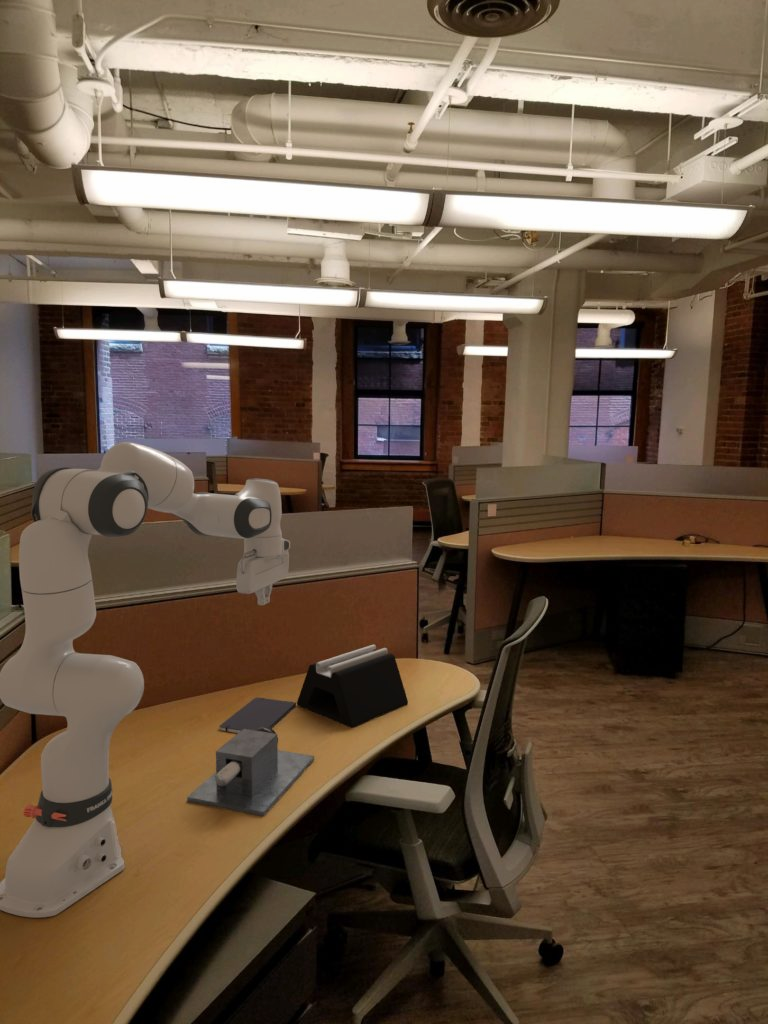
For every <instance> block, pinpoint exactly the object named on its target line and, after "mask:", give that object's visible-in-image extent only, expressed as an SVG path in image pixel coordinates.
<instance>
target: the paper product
mask: <svg viewBox="0 0 768 1024" xmlns="http://www.w3.org/2000/svg"><path fill="white" fill-rule="evenodd" d="M296 707H297V701H296V702H294V701H286V700H279V699H272V698H264V697H254V698H253V699H251V700H250V701H249V702H248V703H246V705H244V706H243V707H241V708H240V709H239V710H237V712H235V713H234V714H232V716H230V717H229V718H227V719H226V720H225V721H224V722H222V723H221V724H219V730H220V731H222V730H224V731H223V732H226V731H227V732H228V733H229V732H231V733H234V734H235V733H237V734H238V733H239V732H240V731H241V730H243V729H249V730H255V731H256V730H257V729H259V728H260V727H263V726H266V727H270V728H271V729H274V726H275V727H276V725H277V724H278V723H280V722H281V721H282V720H283V719H284V718H285V717H286V716H287V715H288V714H289V713H290V712H291V711H292V710H293V709H294V708H296Z"/></svg>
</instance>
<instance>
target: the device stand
mask: <svg viewBox="0 0 768 1024" xmlns="http://www.w3.org/2000/svg"><path fill="white" fill-rule="evenodd" d="M376 649H377V646H376V644H374V643H373V644H371V645H367V646H364V647H361V648H358V649H356V650H355V649H354V650H352V651H350V652H349V651H348V652H345V653H342V654H339V655H337V656H333V657H330V658H328V659H324V660H321V661H318V662H316V663H312V664H309V666H308V669H307V672H306V675H305V678H304V681H303V684H302V686H301V690H300V692H299V695H298V697H297V701H296V706H298V707H301V708H303V709H306V710H308V711H310V712H313V713H315V714H317V715H320V716H322V717H325V718H327V719H329V720H332V721H334V722H336V723H338V724H341V725H343V726H346V727H349V728H351V729H353V728H355V727H357V726H360V725H362V724H364V723H366V722H369V721H371V720H374V719H376V718H378V717H381V716H383V715H385V714H387V713H389V712H390V713H391V712H392V711H394V710H396V709H399V708H401V707H403V706H407V705H408V703H409V699H408V697H407V694H406V690H405V687H404V684H403V680H402V676H401V674H400V671H399V667H398V663H397V659H396V656H395V655H394V654H393V653H391V652H390V653H388V648H387V647H383V648H379V649H377V650H376Z"/></svg>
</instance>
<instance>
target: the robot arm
mask: <svg viewBox="0 0 768 1024" xmlns="http://www.w3.org/2000/svg"><path fill="white" fill-rule="evenodd" d="M194 491H195V477H194V473H193V471H192V470H191V469H190V468H189V467H188V466H187V465H186V464H184V463H183V462H182V461H180V460H179V459H177V458H176V457H173V456H172V455H169V454H167V453H165V452H164V451H161V450H159V449H156V448H153V447H150V446H147V445H143V444H140V443H136V442H132V441H123V442H122V441H121V442H119V443H115V444H114V445H113V446H111V447H110V448H109V449H107V451H106V452H105V454H104V455H103V457H102V459H101V463H100V467H99V468H98V469H91V468H90V469H89V468H74V467H67V466H64V467H58V468H52V469H50V470H48V471H45V472H44V473H43V474H42V475H40V476H39V478H38V479H37V480H36V483H35V484H34V488H33V491H32V496H31V507H32V508H31V510H30V515H31V518H32V520H33V521H34V522H32V523H31V524H29V525H27V527H25V528H24V529H23V531H22V532H21V535H20V538H19V548H18V551H19V552H18V570H19V571H18V572H19V582H20V588H21V595H22V602H23V611H24V621H25V633H24V639H23V641H22V644H21V647H20V648H19V650H18V651H17V652H16V653H15V654H14V655H13V656H11V657H10V658H9V659H8V660H7V661H6V662H5V663H4V665H3V667H2V668H1V669H0V700H1V702H2V703H3V704H4V706H6V707H9V708H12V709H13V710H17V711H21V712H24V713H27V714H29V715H30V714H31V715H44V716H59V717H65V719H66V722H67V728H66V730H64V731H63V732H61V733H59V734H57V735H55V736H53V737H52V738H51V739H50V740H49V741H48V742H47V744H45V747H44V748H43V749H42V753H41V756H40V769H41V770H40V771H41V785H42V787H41V789H42V790H41V791H40V795H39V798H38V802H37V805H34V804H31V803H29V804H27V805H26V806H24V809H23V812H22V813H23V816H24V817H26V818H31V819H34V821H33V822H32V823H31V825H30V827H29V828H28V829H27V831H26V832H25V833H24V835H23V836H22V838H21V840H20V841H19V842H18V844H17V846H16V847H15V848H14V850H13V851H12V853H11V854H10V856H9V857H8V859H7V862H6V867H5V876H4V878H3V879H2V880H1V881H0V911H3V912H5V913H8V914H11V915H15V916H17V917H18V916H19V917H24V918H36V919H37V918H49V917H54V916H56V915H58V914H60V913H61V912H63V911H65V910H66V909H67V908H68V907H70V906H72V905H73V904H75V903H76V902H78V901H79V900H81V899H82V898H83V897H85V896H86V895H88V894H89V893H91V892H93V891H94V890H95V889H97V888H98V887H99V886H101V885H103V884H104V883H106V882H107V881H109V880H110V879H112V878H113V877H115V876H116V875H117V874H119V873H120V872H122V871H123V870H124V869H125V867H126V865H125V861H124V859H123V856H122V848H121V845H120V842H119V838H118V832H117V831H118V830H117V826H116V820H115V816H114V814H113V811H112V805H111V804H112V802H113V792H114V791H113V787H112V780H111V778H110V776H109V775H110V774H109V773H110V772H109V771H110V770H109V769H110V768H109V764H110V763H109V759H110V758H109V757H110V755H109V753H110V743H111V738H112V736H113V732H114V731H115V729H116V728H117V726H118V724H119V723H120V722H121V721H122V720H123V719H124V718H125V717H126V716H128V715H130V714H131V713H132V712H133V711H134V710H135V709H136V708H137V707H138V705H139V703H140V702H141V699H142V697H143V695H144V689H145V679H144V674H143V672H142V669H141V668H140V666H139V665H138V664H137V662H135V661H132V660H129V659H125V658H122V657H119V656H116V655H111V654H96V653H95V654H94V653H83V652H81V653H80V652H77V651H75V649H74V644H73V641H74V640H75V639H78V638H79V637H81V636H82V635H84V634H85V633H86V632H88V631H90V629H91V628H92V626H93V625H94V623H95V620H96V617H97V609H96V607H97V606H96V600H95V591H94V590H95V589H94V583H93V576H92V570H91V564H90V559H89V556H88V555H89V554H88V553H89V545H90V543H91V540H92V537H93V535H95V536H104V537H107V538H119V537H125V536H130V535H132V534H133V533H135V532H136V531H137V530H138V529H139V528H140V527H141V525H142V524H143V522H144V521H145V518H146V515H147V512H148V509H149V510H151V511H156V512H159V513H167V514H170V515H172V516H174V517H177V518H178V519H180V520H182V521H183V522H184V523H185V524H186V526H187V527H188V528H189V529H190V530H191V531H192V532H193V533H194V534H196V535H198V536H204V537H205V536H206V537H207V536H208V537H209V536H210V537H213V536H214V537H224V538H232V539H243V546H244V547H243V554H242V557H241V558H240V560H239V561H238V564H237V567H236V582H235V583H236V585H235V586H236V590H237V593H239V594H243V595H244V594H245V595H249V594H250V595H251V594H253V593H255V596H256V598H257V605H258V606H264V605H266V604H269V603H270V601H271V600H270V599H271V597H270V596H271V594H272V590H273V584H275V583H277V582H279V581H281V580H283V579H285V578H287V576H288V574H289V569H290V553H289V550H290V549H291V541H290V540H289V539H286V538H283V534H282V529H281V520H282V517H283V516H282V515H283V510H282V496H281V490H280V487H279V483H277V482H276V481H275V480H272V479H267V478H266V479H265V478H256V477H255V478H253V477H252V478H248V479H247V480H246V481H245V483H244V487H243V488H242V489H241V490H240V491H238V492H236V493H235V494H224V493H214V492H213V493H212V492H209V491H208V492H206V491H201V492H199V491H198V492H195V493H194Z"/></svg>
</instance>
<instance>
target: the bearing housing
mask: <svg viewBox="0 0 768 1024" xmlns="http://www.w3.org/2000/svg"><path fill="white" fill-rule="evenodd" d="M277 737H278V733H276V734H274V733H268V732H261V731H255V730H249V729H243V730H241V731H240V732H239V733H237V734H235V735H234V736H232V738H230V739H229V740H228V741H226V742H225V743H224V744H223V745H222V746H220V747H219V748H218V749H217V750H215V772H214V773H213V774H211V775H210V777H208V778H207V779H206V780H205V781H203V783H201V784H200V785H199V786H198V787H196V789H195V790H193V792H191V793H190V794H188V796H186V797H187V798H186V800H187V801H186V802H189V803H194V804H198V805H202V806H203V805H204V806H208V807H213V808H219V809H224V810H229V811H235V812H240V813H244V814H250V815H254V814H255V816H259V815H260V816H259V817H264V816H265V815H266V814H267V813H268V812H269V811H270V810H271V809H272V808H273V807H274V805H275V804H276V803H277V802H278V801H279V800H280V799H281V798H282V797H283V796H284V794H286V792H287V791H288V790H289V789H290V788H291V786H292V785H293V784H294V783H295V782H296V781H297V780H298V779H299V777H300V776H301V775H303V773H304V772H305V771H306V770H305V769H306V768H307V769H308V767H309V766H310V765H311V764H312V763H313V762H314V761H315V755H311V754H304V753H298V752H293V751H288V750H287V751H286V750H281V749H279V748H278V745H277ZM232 760H238V761H242V771H241V772H240V773H239V774H238V775H236V776H235V777H234V778H233V779H232V780H231V781H230V782H229V783H228V784H227V785H226V786H220V785H218V784H217V782H216V780H215V776H216V774H217V773H218V772H219V771H220V770H222V769H223V768H224V767H225V766H226V765H227V764H228V763H230V762H231V761H232ZM313 760H314V761H313ZM312 761H313V762H312ZM311 762H312V763H311ZM304 770H305V771H304ZM297 778H298V779H297ZM296 779H297V780H296ZM288 788H289V789H288ZM280 797H281V798H280ZM279 798H280V799H279ZM271 807H272V808H271ZM270 808H271V809H270Z"/></svg>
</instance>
